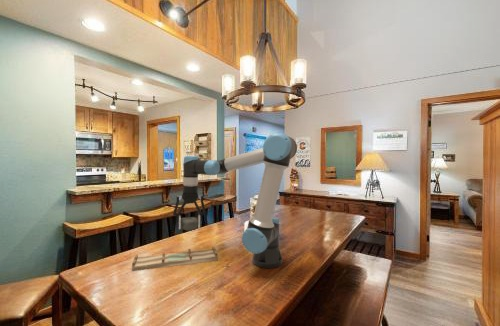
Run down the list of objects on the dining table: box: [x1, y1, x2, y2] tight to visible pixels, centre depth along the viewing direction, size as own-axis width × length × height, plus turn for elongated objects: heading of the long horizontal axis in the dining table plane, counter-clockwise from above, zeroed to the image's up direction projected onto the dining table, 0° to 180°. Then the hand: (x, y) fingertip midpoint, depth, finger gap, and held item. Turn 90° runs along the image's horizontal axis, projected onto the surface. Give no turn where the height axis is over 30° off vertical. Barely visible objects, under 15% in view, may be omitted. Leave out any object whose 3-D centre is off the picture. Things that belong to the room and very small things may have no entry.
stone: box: [177, 216, 198, 232], centre depth 126 cm, size 9×9×10 cm
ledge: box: [131, 246, 219, 272], centre depth 121 cm, size 11×40×4 cm, turn 108°
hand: (189, 228), depth 123 cm, fingers closed on stone, 9 cm apart
